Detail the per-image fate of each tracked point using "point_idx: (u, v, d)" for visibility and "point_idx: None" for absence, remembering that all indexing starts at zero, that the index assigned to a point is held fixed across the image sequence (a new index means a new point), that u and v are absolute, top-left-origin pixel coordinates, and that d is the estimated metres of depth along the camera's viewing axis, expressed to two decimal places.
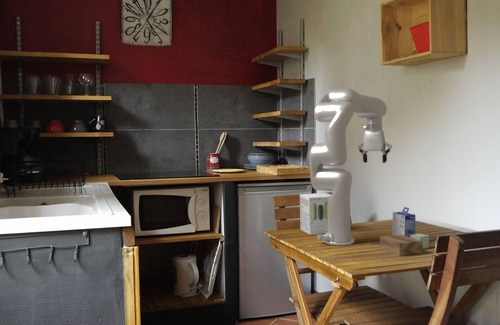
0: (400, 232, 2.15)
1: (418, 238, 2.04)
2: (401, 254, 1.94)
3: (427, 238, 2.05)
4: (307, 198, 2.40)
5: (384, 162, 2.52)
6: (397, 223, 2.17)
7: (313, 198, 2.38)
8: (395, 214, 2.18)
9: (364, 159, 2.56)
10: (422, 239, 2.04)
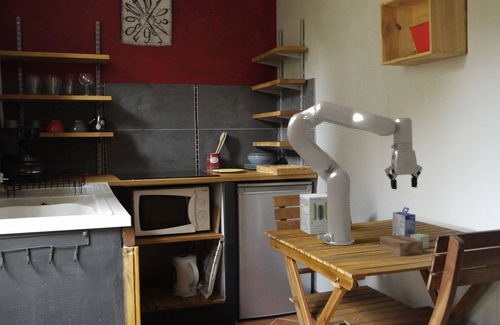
0: (400, 232, 2.15)
1: (418, 238, 2.04)
2: (401, 254, 1.94)
3: (427, 238, 2.05)
4: (307, 198, 2.40)
5: None
6: (397, 223, 2.17)
7: (313, 198, 2.38)
8: (395, 214, 2.18)
9: (396, 185, 2.13)
10: (422, 239, 2.04)
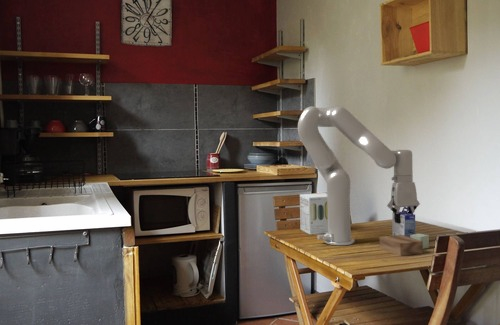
0: (400, 232, 2.15)
1: (418, 238, 2.04)
2: (402, 254, 1.94)
3: (427, 238, 2.05)
4: (307, 198, 2.40)
5: None
6: (397, 223, 2.17)
7: (313, 198, 2.38)
8: None
9: None
10: (422, 239, 2.04)
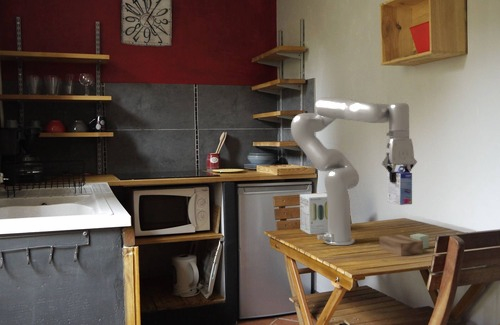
0: (396, 192, 1.98)
1: (418, 238, 2.04)
2: (402, 254, 1.94)
3: (427, 238, 2.05)
4: (307, 198, 2.40)
5: None
6: (392, 183, 2.00)
7: (313, 198, 2.38)
8: None
9: (395, 178, 1.98)
10: (422, 239, 2.04)
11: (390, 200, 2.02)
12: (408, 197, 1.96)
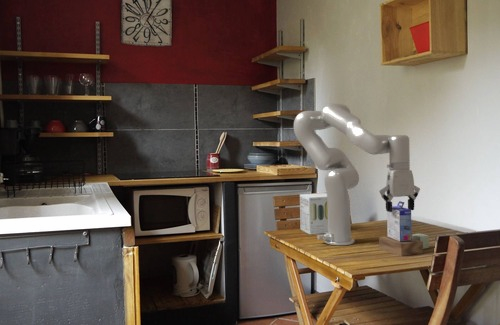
0: (395, 229, 1.99)
1: (418, 238, 2.04)
2: (403, 254, 1.94)
3: (427, 238, 2.05)
4: (307, 198, 2.40)
5: (412, 209, 2.02)
6: (392, 219, 2.01)
7: (313, 198, 2.38)
8: None
9: (391, 207, 1.98)
10: (422, 239, 2.04)
11: (390, 236, 2.03)
12: (408, 233, 1.97)
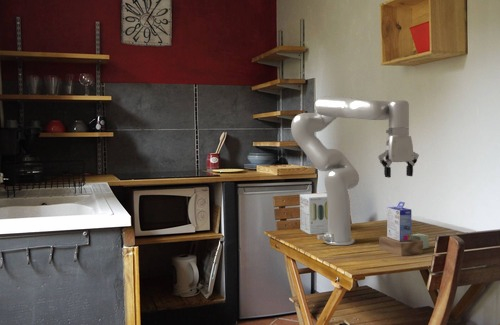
0: (395, 229, 1.99)
1: (418, 238, 2.04)
2: (403, 254, 1.94)
3: (427, 238, 2.05)
4: (307, 198, 2.40)
5: (411, 175, 2.01)
6: (392, 219, 2.01)
7: (313, 198, 2.38)
8: (390, 209, 2.03)
9: (390, 173, 1.98)
10: (422, 239, 2.04)
11: (390, 236, 2.03)
12: (407, 233, 1.97)
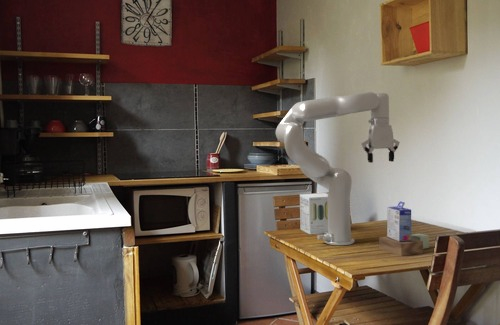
0: (395, 229, 1.99)
1: (418, 238, 2.04)
2: (403, 254, 1.94)
3: (427, 238, 2.05)
4: (307, 198, 2.40)
5: (392, 161, 2.23)
6: (392, 219, 2.01)
7: (313, 198, 2.38)
8: (390, 209, 2.03)
9: (372, 158, 2.20)
10: (422, 239, 2.04)
11: (390, 236, 2.03)
12: (407, 233, 1.97)
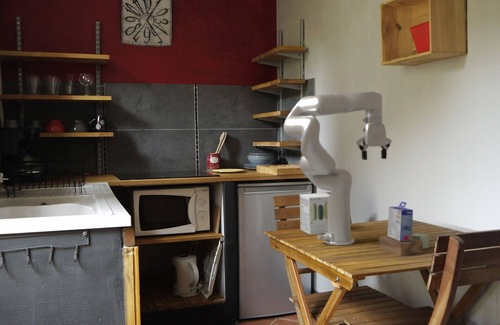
0: (396, 229, 1.99)
1: (418, 238, 2.04)
2: (402, 254, 1.94)
3: (427, 238, 2.05)
4: (307, 198, 2.40)
5: (385, 158, 2.32)
6: (393, 219, 2.01)
7: (313, 198, 2.38)
8: (391, 209, 2.03)
9: (366, 156, 2.29)
10: (422, 239, 2.04)
11: (390, 236, 2.03)
12: (408, 234, 1.97)
